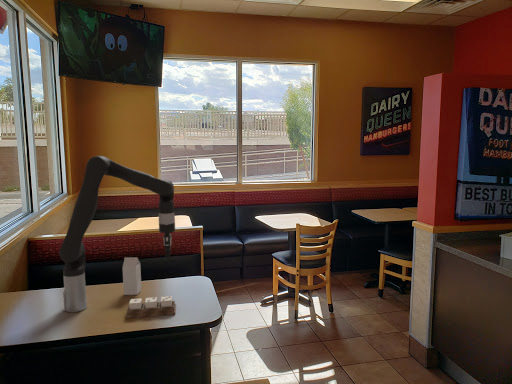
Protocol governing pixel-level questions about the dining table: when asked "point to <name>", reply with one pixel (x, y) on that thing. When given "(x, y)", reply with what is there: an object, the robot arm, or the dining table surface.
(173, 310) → the brown tile tray
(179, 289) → the dining table surface
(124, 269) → the milk carton
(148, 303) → the tile two
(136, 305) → the tile one
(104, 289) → the dining table surface
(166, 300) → the tile three
